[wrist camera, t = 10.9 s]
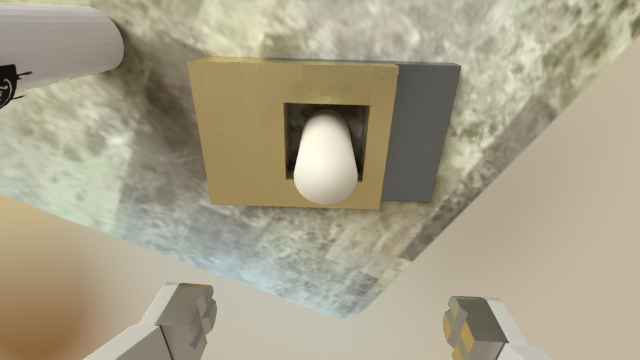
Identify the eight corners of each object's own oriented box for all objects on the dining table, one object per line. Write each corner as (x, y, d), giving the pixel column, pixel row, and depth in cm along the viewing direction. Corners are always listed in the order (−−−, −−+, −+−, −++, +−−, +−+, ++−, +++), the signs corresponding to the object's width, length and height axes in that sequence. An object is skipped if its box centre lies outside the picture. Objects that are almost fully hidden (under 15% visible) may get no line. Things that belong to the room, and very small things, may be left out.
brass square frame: (453, 63, 24) (470, 68, 21) (425, 193, 30) (435, 211, 27) (203, 56, 24) (186, 60, 21) (222, 186, 30) (211, 204, 27)
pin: (350, 109, 26) (360, 148, 18) (347, 152, 28) (354, 205, 20) (303, 108, 26) (293, 146, 18) (303, 151, 28) (294, 203, 20)
